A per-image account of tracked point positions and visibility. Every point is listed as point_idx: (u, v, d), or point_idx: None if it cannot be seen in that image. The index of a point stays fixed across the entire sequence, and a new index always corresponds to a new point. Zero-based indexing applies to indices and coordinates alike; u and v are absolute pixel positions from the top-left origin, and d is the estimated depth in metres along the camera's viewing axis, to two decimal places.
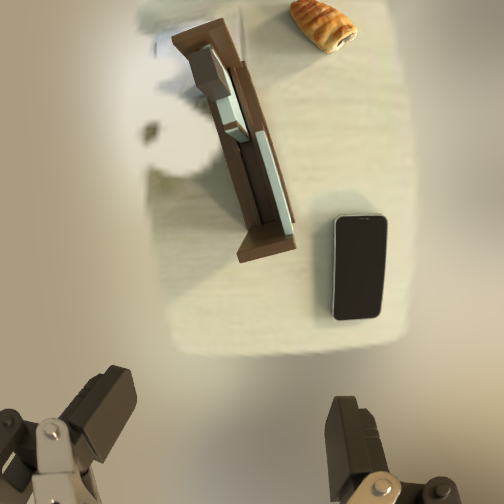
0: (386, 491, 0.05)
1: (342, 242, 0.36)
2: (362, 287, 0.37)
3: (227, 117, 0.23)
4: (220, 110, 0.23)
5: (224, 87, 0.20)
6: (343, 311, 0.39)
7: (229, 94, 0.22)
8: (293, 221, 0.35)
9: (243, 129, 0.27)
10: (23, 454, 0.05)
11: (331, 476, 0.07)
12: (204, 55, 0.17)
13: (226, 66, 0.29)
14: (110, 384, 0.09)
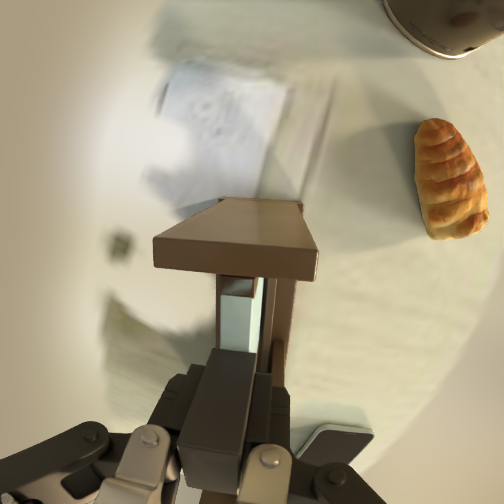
0: (273, 464, 0.06)
1: (317, 445, 0.27)
2: None
3: None
4: None
5: None
6: None
7: None
8: None
9: None
10: (97, 470, 0.06)
11: None
12: (220, 463, 0.06)
13: None
14: (198, 383, 0.09)
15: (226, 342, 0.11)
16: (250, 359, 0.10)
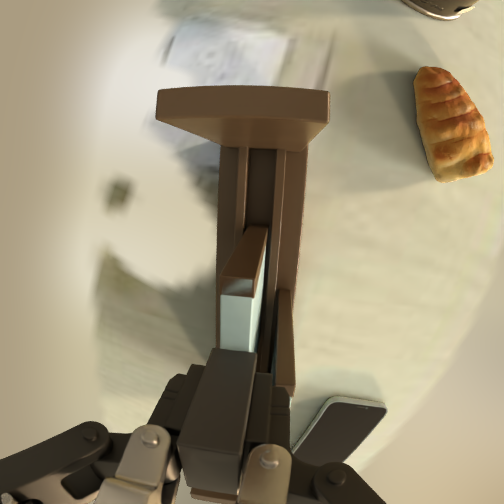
0: (272, 464, 0.06)
1: (325, 422, 0.26)
2: (324, 455, 0.27)
3: None
4: None
5: None
6: None
7: None
8: None
9: None
10: (97, 470, 0.06)
11: None
12: (220, 463, 0.06)
13: (273, 147, 0.17)
14: (198, 383, 0.09)
15: (226, 342, 0.11)
16: (250, 359, 0.10)
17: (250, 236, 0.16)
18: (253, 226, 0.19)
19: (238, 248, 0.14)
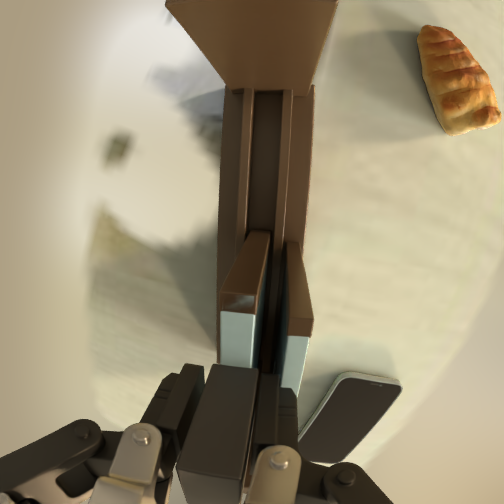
0: (282, 465, 0.06)
1: (336, 401, 0.24)
2: (334, 441, 0.26)
3: None
4: None
5: None
6: (301, 454, 0.27)
7: None
8: None
9: None
10: (90, 468, 0.06)
11: None
12: (221, 486, 0.06)
13: (279, 86, 0.15)
14: (191, 382, 0.09)
15: (226, 358, 0.10)
16: (251, 376, 0.10)
17: (252, 243, 0.16)
18: (255, 231, 0.18)
19: (239, 258, 0.13)
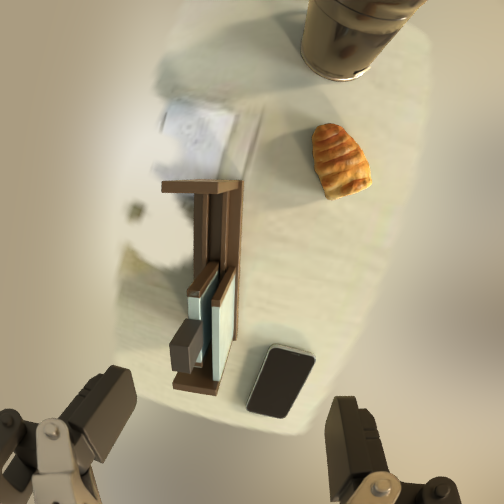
0: (386, 491, 0.05)
1: (270, 364, 0.41)
2: (276, 397, 0.43)
3: None
4: None
5: (195, 359, 0.26)
6: (255, 407, 0.44)
7: (201, 347, 0.28)
8: (234, 339, 0.40)
9: (210, 344, 0.33)
10: (23, 454, 0.05)
11: (331, 476, 0.07)
12: (182, 352, 0.23)
13: None
14: (110, 384, 0.09)
15: (190, 315, 0.28)
16: (199, 322, 0.27)
17: (206, 269, 0.33)
18: (211, 262, 0.36)
19: (198, 277, 0.31)
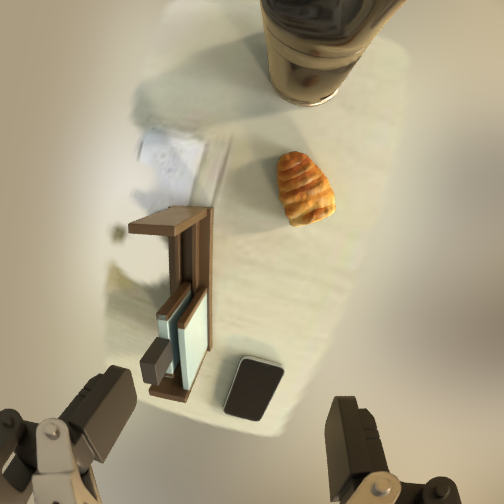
0: (386, 491, 0.05)
1: (242, 373, 0.44)
2: (249, 402, 0.46)
3: (167, 370, 0.32)
4: None
5: (164, 373, 0.29)
6: (231, 410, 0.47)
7: (170, 361, 0.31)
8: (208, 350, 0.43)
9: None
10: (23, 454, 0.05)
11: (331, 476, 0.07)
12: (150, 368, 0.26)
13: None
14: (110, 384, 0.09)
15: (160, 335, 0.31)
16: (167, 341, 0.30)
17: (178, 291, 0.36)
18: (184, 283, 0.39)
19: (168, 299, 0.34)
